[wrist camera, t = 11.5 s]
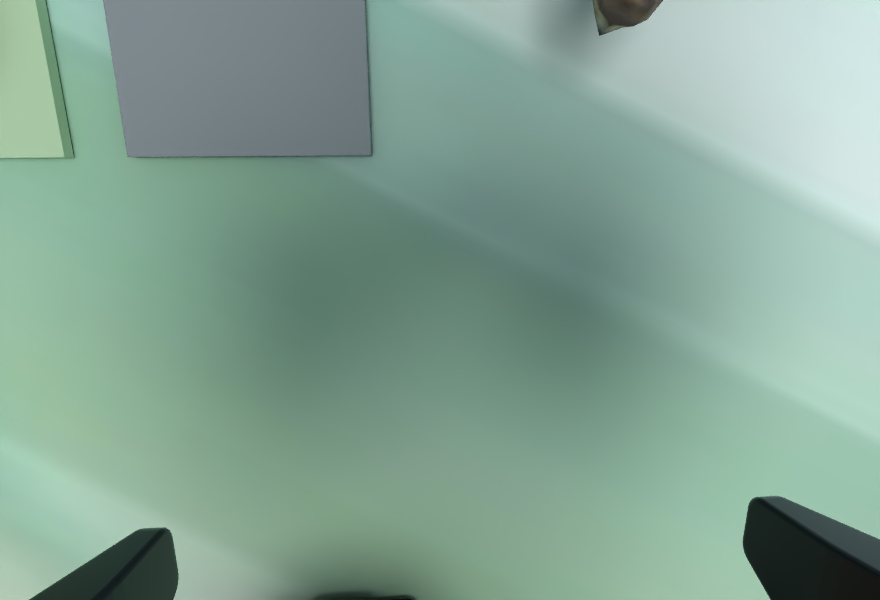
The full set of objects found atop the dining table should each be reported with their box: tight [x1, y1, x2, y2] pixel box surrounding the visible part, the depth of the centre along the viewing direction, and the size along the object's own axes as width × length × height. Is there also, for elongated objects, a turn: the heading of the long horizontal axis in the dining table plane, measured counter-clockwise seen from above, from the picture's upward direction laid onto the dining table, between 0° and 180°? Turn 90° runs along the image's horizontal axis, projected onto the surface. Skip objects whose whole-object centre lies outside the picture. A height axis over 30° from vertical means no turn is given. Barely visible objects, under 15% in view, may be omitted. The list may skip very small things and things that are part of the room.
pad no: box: [103, 0, 372, 157], centre depth 16 cm, size 8×8×1 cm
